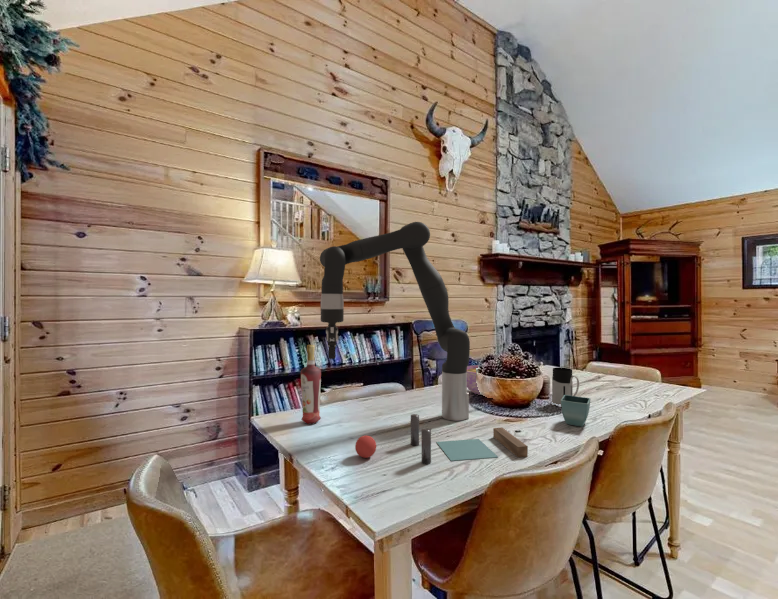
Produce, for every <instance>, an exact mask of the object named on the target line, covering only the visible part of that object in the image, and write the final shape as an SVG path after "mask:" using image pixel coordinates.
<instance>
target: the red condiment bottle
mask: <svg viewBox="0 0 778 599" xmlns="http://www.w3.org/2000/svg"><path fill="white" fill-rule="evenodd" d="M315 350H316V349H315V344H307V345H306V351H307V358H306V366H305V367H303V368H301V370H300V387H301V403H302V406H301V407H302V417H301V421H302V422H303V423H304V424H306V423H307V425H314V424H317V423H318V422H319V421H320V420H321V419H322V418H321V416H320V414H321V412H320V407H321V406H320V405H321V401H320V400H321V384H322V383H321V382H322V378H321V377H322V369H321V368H320V367H318V366H316V361H315ZM316 422H317V423H316ZM313 423H314V424H313Z"/></svg>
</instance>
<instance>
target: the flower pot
mask: <svg viewBox="0 0 778 599" xmlns="http://www.w3.org/2000/svg"><path fill="white" fill-rule="evenodd" d="M561 407H562V408H561ZM561 407H560V408H561V414H562V418H563V420H564V422H565V423H566V424H567V425H571V426H575V427H584V425H585V424H586V421H587V418H588V416H589V412H590V408H591V398H590V397H583V396H577V395H576V396H570V395H564V396H563V398H562V399H561Z"/></svg>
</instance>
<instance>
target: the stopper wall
mask: <svg viewBox="0 0 778 599" xmlns="http://www.w3.org/2000/svg"><path fill="white" fill-rule="evenodd" d="M492 433H493V434H492V435H493V436H492V437H493V439H495V440H496V441H497V442H498V443H500V444H501V445H502V446H504V447H505V448H506V449H507V450H508V451H509V452H511V454H513V455H515V457H517V458H528V450H529V449H528V448H529V446H528V445H526V443H524V442H523V441H522V440H520V439H518V438H517V437H516V436H515V435H513V434H512V433H510V432H509V431H508V430H507V429H505V428H504V427H493V432H492Z"/></svg>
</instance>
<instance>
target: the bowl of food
mask: <svg viewBox="0 0 778 599" xmlns="http://www.w3.org/2000/svg"><path fill="white" fill-rule="evenodd" d="M478 366H479V365H468V367H467V389H468V391H470V392H471V393H474V394H475V395H476V394H478V395H480V392H479V390H478V387H477V383H476V368H478ZM478 395H477V396H478Z"/></svg>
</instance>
